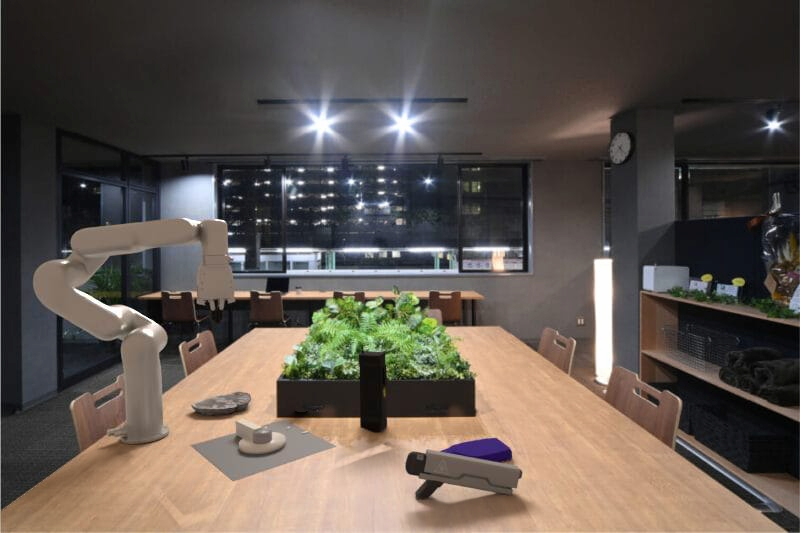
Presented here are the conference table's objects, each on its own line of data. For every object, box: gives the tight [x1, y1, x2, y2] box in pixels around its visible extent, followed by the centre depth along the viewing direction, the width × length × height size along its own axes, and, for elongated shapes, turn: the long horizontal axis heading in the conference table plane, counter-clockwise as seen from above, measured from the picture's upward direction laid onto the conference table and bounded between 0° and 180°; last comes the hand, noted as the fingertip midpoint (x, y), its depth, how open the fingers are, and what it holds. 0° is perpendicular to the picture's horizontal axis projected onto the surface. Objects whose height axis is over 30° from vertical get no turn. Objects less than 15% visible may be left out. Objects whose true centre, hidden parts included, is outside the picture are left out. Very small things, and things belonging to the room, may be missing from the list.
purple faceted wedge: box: [439, 437, 513, 463], centre depth 123 cm, size 3×11×24 cm
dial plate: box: [190, 419, 337, 482], centre depth 130 cm, size 28×28×2 cm
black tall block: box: [358, 344, 389, 433], centre depth 145 cm, size 8×6×25 cm
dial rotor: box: [235, 418, 286, 454], centre depth 132 cm, size 18×12×4 cm, turn 47°
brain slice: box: [190, 391, 252, 416], centre depth 166 cm, size 20×17×3 cm
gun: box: [404, 449, 523, 500], centre depth 105 cm, size 2×25×10 cm, turn 93°
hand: (216, 322), depth 145 cm, fingers closed
